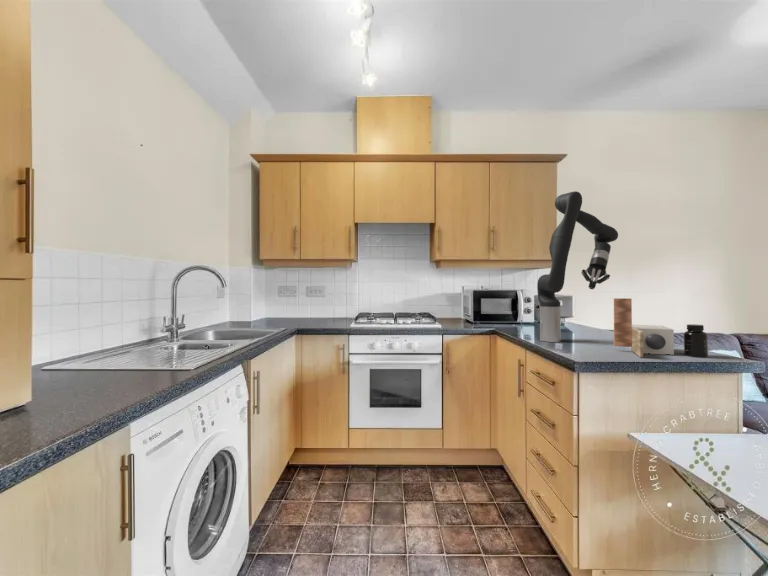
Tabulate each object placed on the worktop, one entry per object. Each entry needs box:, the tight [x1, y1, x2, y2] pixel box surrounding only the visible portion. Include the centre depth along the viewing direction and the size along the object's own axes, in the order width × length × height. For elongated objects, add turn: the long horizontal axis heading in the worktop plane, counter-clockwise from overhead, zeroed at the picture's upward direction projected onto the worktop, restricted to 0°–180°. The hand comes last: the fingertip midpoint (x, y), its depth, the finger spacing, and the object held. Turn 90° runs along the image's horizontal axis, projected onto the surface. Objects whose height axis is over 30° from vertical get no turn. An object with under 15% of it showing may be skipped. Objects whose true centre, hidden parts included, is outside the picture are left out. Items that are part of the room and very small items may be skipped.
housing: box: [628, 324, 675, 356], centre depth 142 cm, size 12×16×10 cm
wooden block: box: [613, 298, 644, 358], centre depth 137 cm, size 7×14×22 cm, turn 156°
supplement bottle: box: [683, 324, 709, 358], centre depth 132 cm, size 7×7×12 cm
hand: (591, 288), depth 170 cm, fingers closed
